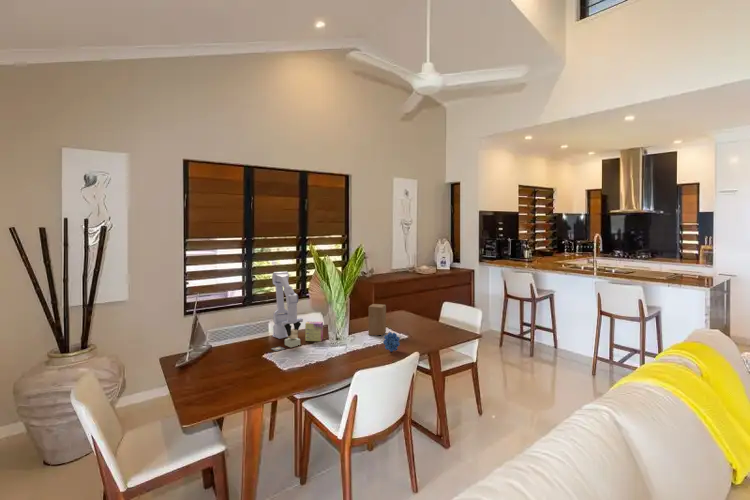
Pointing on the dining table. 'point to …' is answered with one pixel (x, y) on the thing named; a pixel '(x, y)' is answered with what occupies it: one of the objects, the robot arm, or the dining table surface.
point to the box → (313, 331)
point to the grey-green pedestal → (292, 342)
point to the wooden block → (377, 319)
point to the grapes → (391, 341)
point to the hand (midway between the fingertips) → (292, 334)
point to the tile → (277, 348)
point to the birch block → (293, 334)
